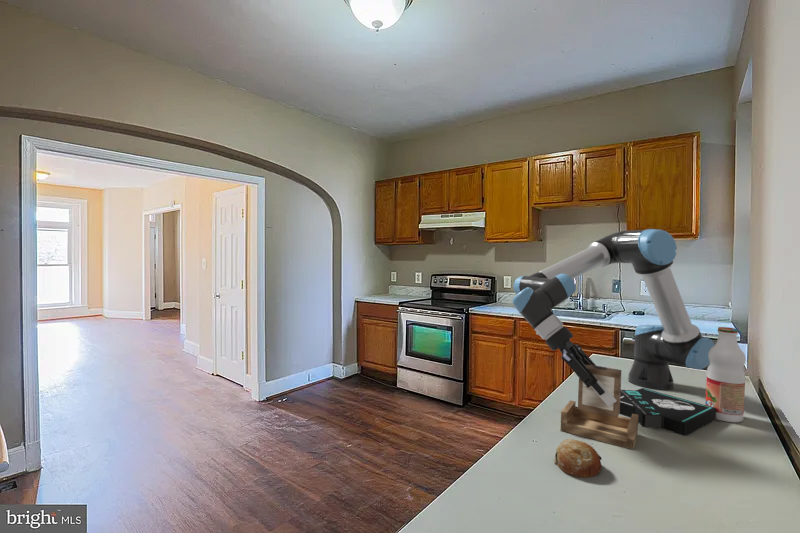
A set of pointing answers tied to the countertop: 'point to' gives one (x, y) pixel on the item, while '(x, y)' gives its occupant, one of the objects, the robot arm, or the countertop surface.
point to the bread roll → (577, 458)
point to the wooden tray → (600, 426)
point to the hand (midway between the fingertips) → (613, 400)
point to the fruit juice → (726, 377)
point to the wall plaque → (665, 411)
